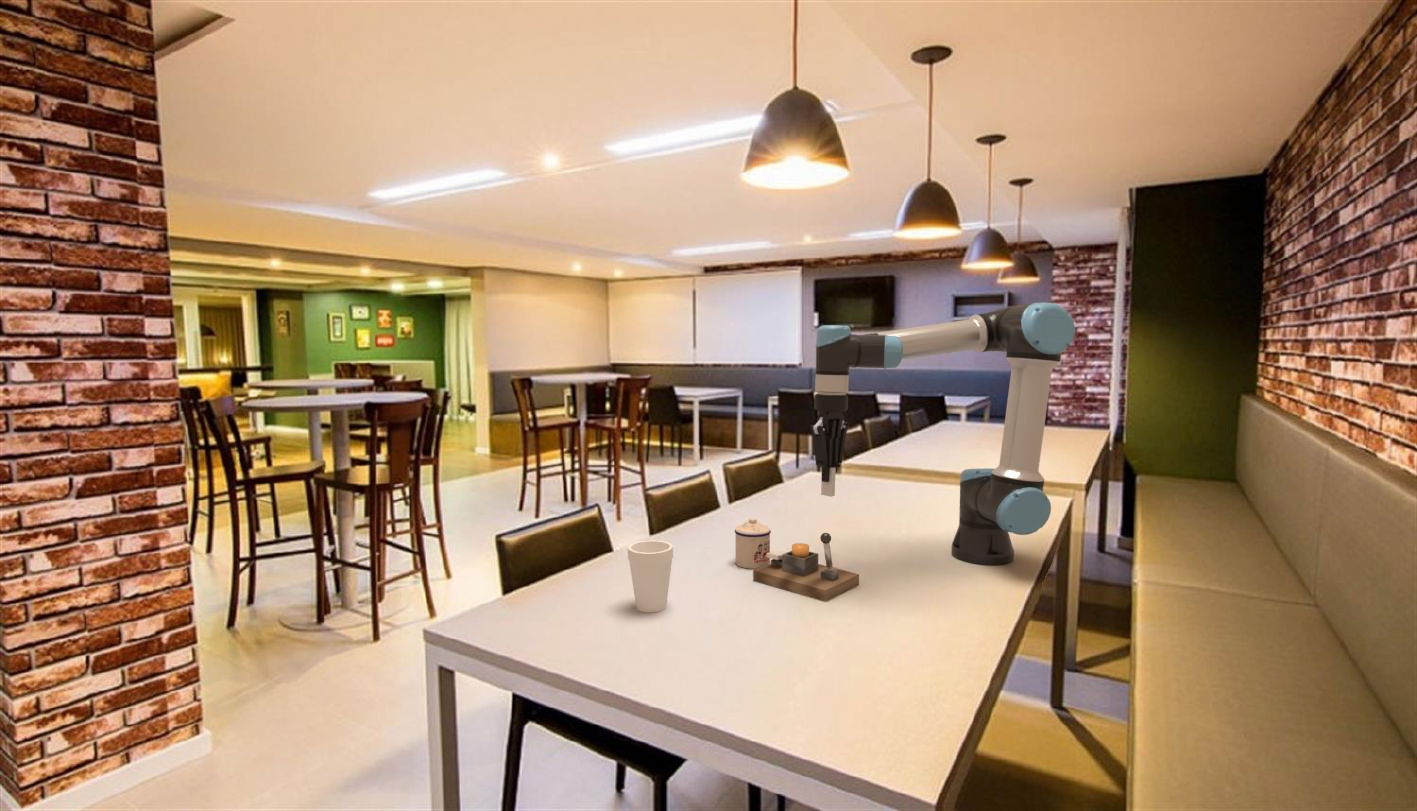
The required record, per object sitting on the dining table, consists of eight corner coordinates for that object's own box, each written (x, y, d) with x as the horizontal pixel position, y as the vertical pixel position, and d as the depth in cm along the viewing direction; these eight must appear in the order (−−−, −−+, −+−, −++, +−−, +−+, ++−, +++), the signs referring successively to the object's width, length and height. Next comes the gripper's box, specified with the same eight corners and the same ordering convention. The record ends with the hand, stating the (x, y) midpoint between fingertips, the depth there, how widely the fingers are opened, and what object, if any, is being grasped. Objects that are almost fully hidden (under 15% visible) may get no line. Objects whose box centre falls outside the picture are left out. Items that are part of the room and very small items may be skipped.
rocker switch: (792, 558, 166) (793, 554, 166) (777, 560, 162) (777, 555, 162) (782, 555, 168) (782, 551, 168) (766, 557, 164) (766, 552, 164)
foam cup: (638, 618, 140) (637, 556, 139) (622, 603, 148) (621, 544, 147) (680, 610, 144) (680, 549, 143) (663, 595, 152) (662, 538, 151)
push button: (812, 558, 161) (812, 545, 161) (802, 562, 158) (802, 549, 158) (798, 554, 164) (798, 542, 163) (788, 558, 161) (788, 545, 160)
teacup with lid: (758, 572, 168) (758, 525, 167) (727, 565, 173) (727, 519, 172) (782, 559, 178) (783, 515, 177) (752, 553, 183) (752, 510, 182)
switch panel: (859, 584, 159) (859, 557, 158) (825, 601, 148) (826, 572, 148) (788, 566, 172) (788, 540, 172) (753, 580, 162) (753, 553, 161)
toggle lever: (837, 567, 156) (832, 532, 153) (831, 572, 154) (826, 536, 152) (828, 565, 157) (823, 530, 155) (822, 569, 155) (817, 534, 153)
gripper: (832, 391, 164) (829, 488, 167) (801, 393, 155) (798, 496, 157) (860, 393, 159) (856, 493, 162) (830, 395, 150) (826, 502, 152)
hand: (827, 495), depth 159 cm, fingers closed
